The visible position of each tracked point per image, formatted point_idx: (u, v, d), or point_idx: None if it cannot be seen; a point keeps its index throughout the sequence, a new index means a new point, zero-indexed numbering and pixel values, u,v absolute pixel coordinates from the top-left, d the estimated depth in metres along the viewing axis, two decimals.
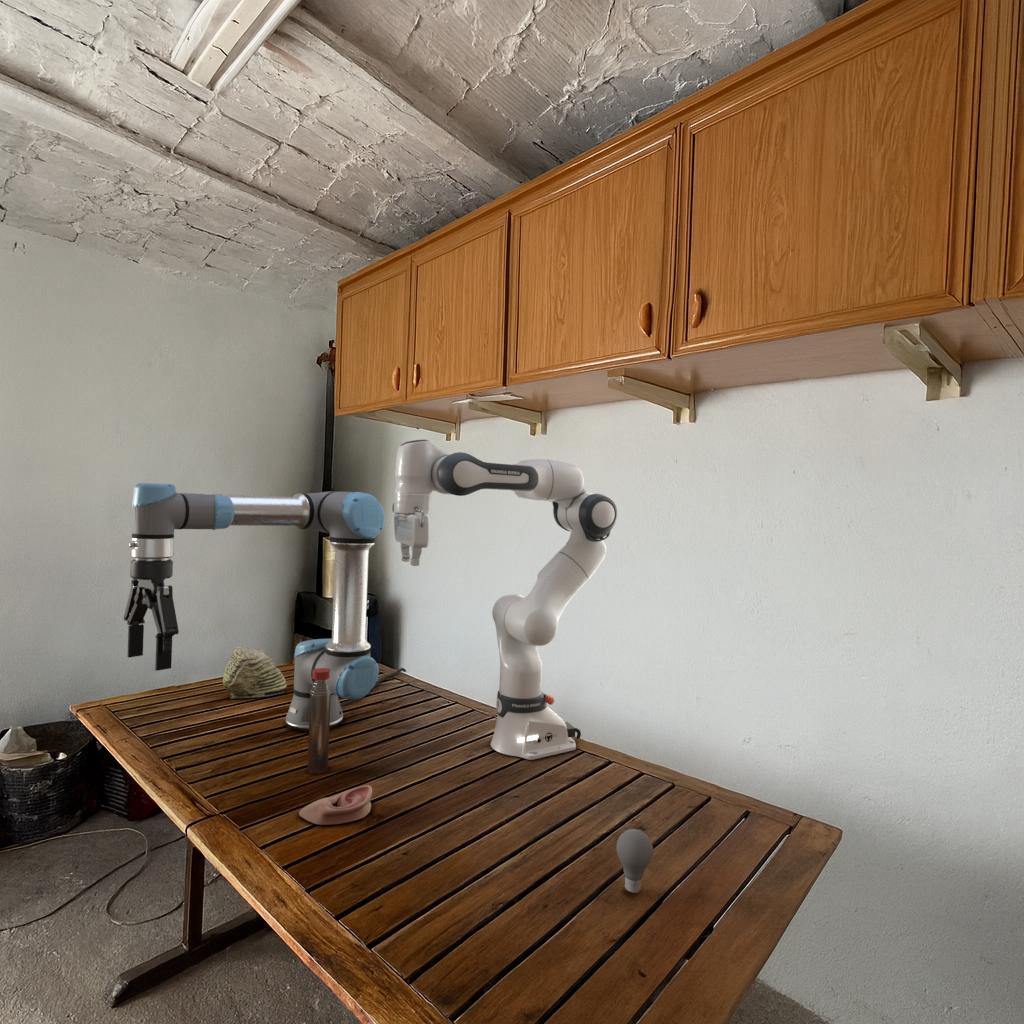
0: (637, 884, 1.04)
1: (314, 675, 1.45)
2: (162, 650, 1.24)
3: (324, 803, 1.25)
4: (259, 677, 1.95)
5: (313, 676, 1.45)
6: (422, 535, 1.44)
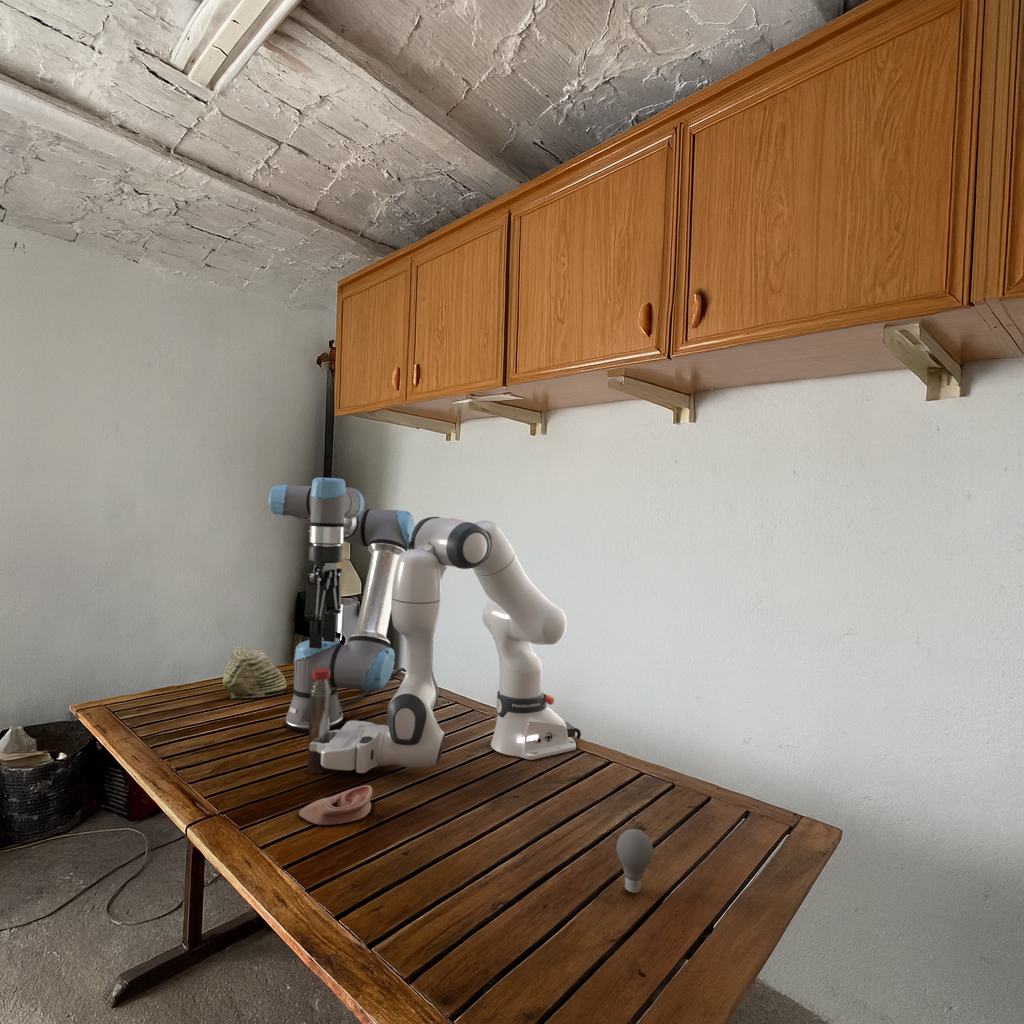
0: (637, 884, 1.04)
1: (314, 675, 1.45)
2: None
3: (324, 803, 1.25)
4: (259, 677, 1.95)
5: (313, 676, 1.45)
6: None
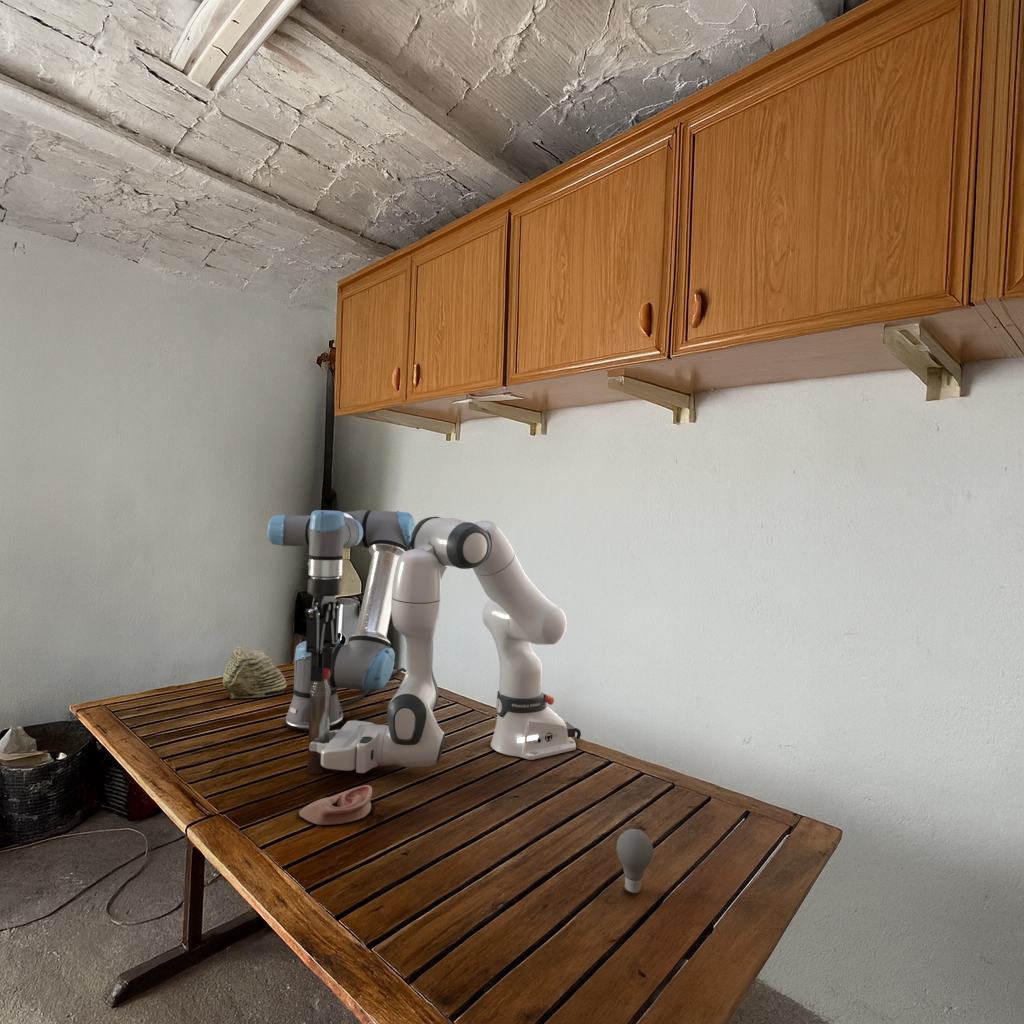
0: (637, 884, 1.04)
1: None
2: None
3: (324, 803, 1.25)
4: (259, 677, 1.95)
5: None
6: None
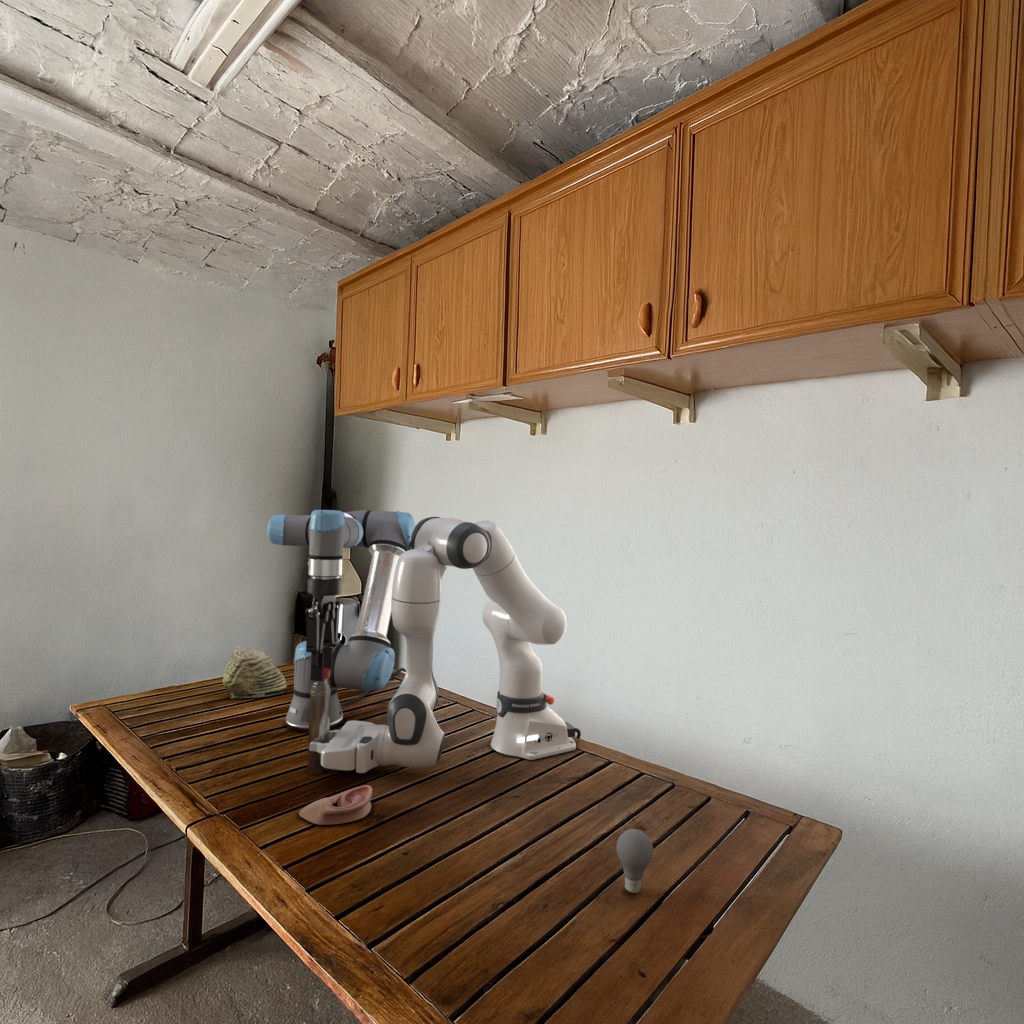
0: (637, 884, 1.04)
1: (325, 675, 1.45)
2: None
3: (324, 803, 1.25)
4: (259, 677, 1.95)
5: (323, 676, 1.45)
6: None
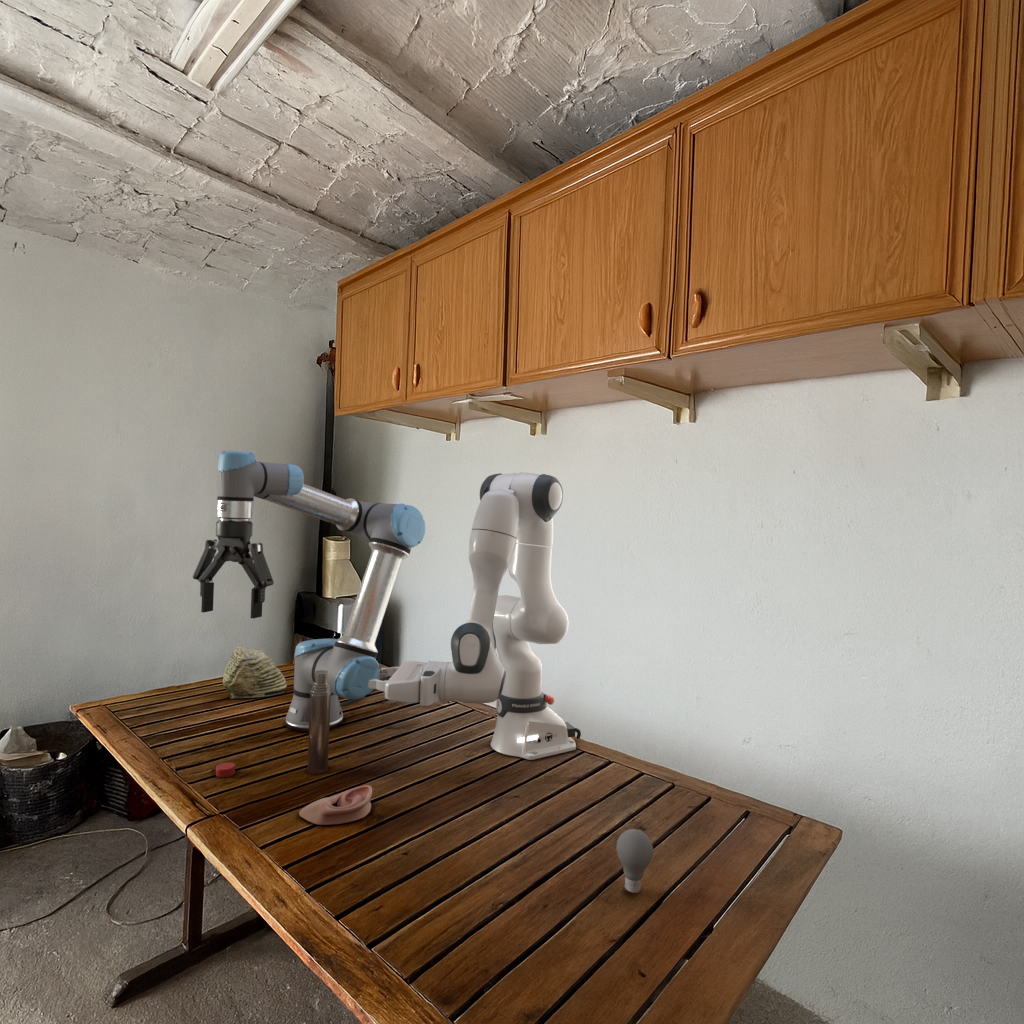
0: (637, 884, 1.04)
1: (223, 773, 1.41)
2: (258, 600, 1.39)
3: (324, 803, 1.25)
4: (259, 677, 1.95)
5: (220, 774, 1.41)
6: None
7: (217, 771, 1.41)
